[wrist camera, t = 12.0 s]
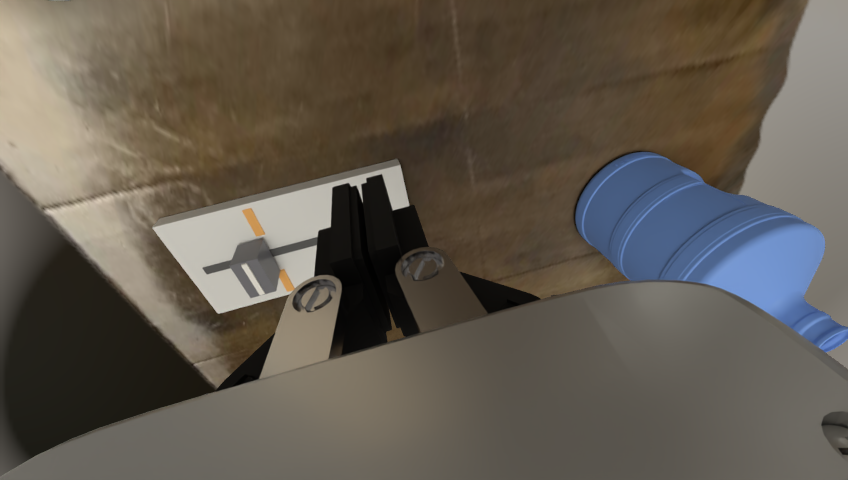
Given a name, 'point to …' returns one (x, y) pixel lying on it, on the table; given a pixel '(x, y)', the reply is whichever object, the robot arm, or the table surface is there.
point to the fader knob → (255, 268)
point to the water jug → (705, 239)
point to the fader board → (264, 233)
